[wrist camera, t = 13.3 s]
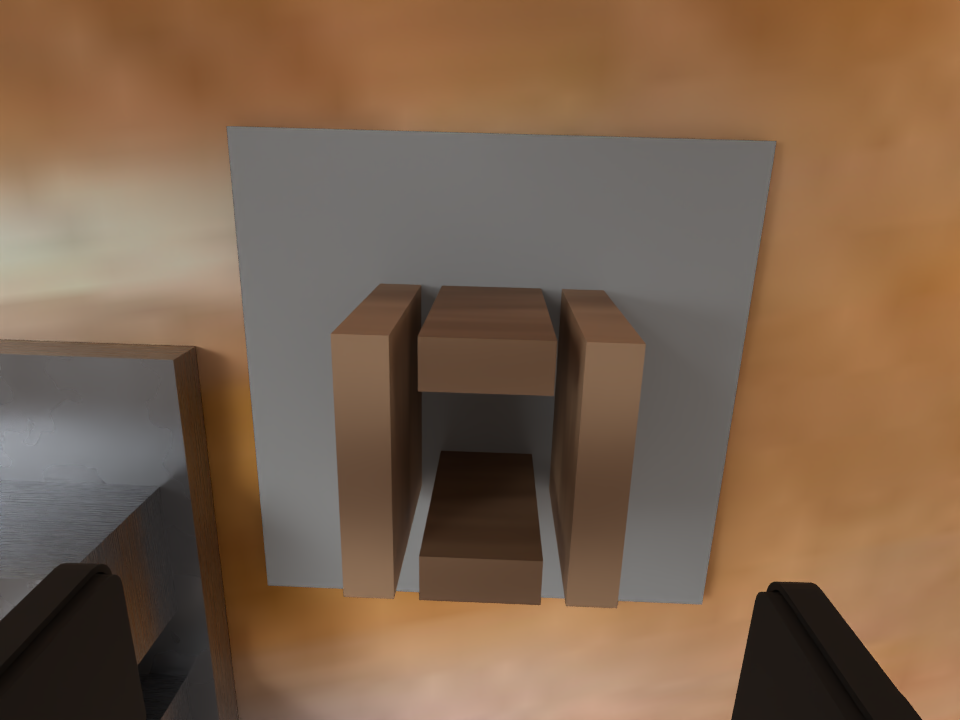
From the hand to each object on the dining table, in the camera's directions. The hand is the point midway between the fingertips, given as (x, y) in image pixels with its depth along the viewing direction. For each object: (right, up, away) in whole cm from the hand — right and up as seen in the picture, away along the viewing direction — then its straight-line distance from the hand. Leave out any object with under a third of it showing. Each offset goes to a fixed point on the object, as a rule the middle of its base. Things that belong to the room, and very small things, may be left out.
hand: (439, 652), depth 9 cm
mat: (+1, +3, +12) cm, 13 cm away
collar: (+1, +3, +11) cm, 12 cm away
